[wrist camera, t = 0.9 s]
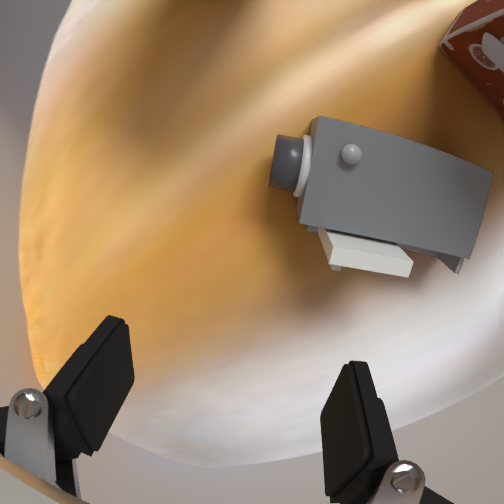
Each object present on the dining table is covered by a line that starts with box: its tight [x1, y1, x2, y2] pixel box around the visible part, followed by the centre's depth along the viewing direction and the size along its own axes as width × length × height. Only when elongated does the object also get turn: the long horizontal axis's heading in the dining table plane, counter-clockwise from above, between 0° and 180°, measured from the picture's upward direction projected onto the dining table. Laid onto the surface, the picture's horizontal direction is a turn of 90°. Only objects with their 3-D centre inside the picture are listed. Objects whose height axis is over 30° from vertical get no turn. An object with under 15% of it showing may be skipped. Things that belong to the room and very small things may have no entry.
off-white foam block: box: [317, 227, 414, 277], centre depth 26 cm, size 7×2×8 cm, turn 81°
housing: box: [269, 116, 493, 274], centre depth 26 cm, size 21×11×7 cm, turn 81°
